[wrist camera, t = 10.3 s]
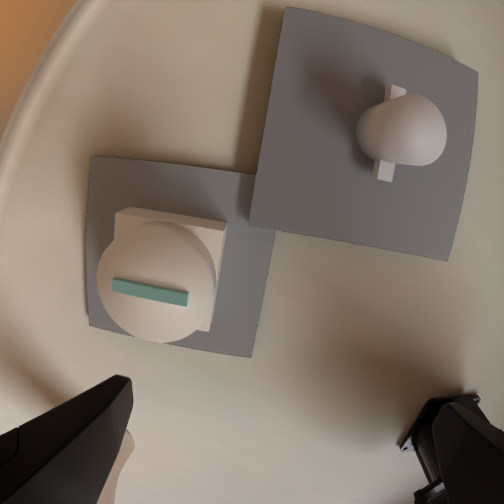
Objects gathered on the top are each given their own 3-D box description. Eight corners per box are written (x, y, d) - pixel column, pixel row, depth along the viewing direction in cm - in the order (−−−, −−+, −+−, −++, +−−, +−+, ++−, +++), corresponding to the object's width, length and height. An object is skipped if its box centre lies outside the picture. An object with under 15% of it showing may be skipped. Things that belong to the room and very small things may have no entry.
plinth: (435, 254, 18) (484, 286, 13) (248, 219, 18) (245, 247, 13) (465, 76, 15) (519, 61, 10) (283, 16, 14) (292, -31, 9)
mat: (251, 352, 20) (251, 358, 20) (92, 321, 20) (89, 325, 19) (283, 179, 17) (284, 180, 17) (95, 155, 17) (91, 156, 16)
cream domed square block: (227, 222, 17) (218, 243, 13) (213, 315, 19) (202, 356, 15) (129, 206, 17) (94, 222, 13) (124, 296, 19) (95, 331, 15)
